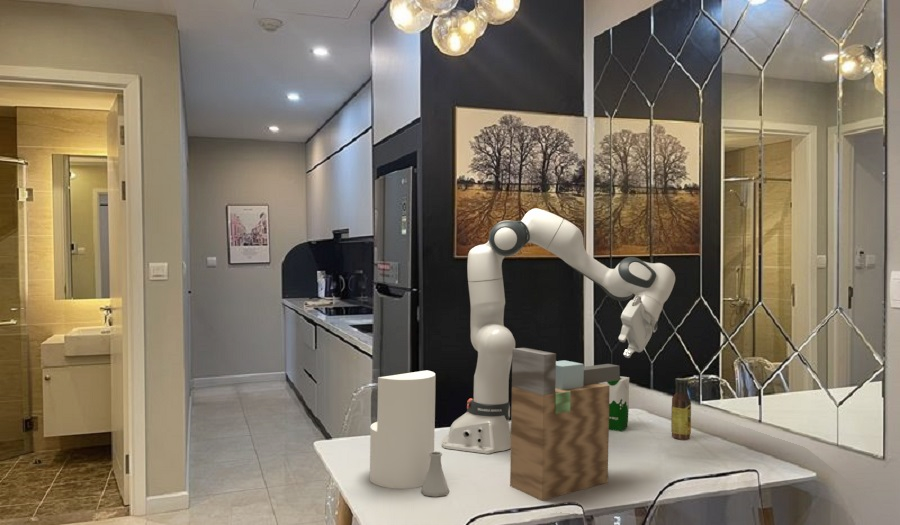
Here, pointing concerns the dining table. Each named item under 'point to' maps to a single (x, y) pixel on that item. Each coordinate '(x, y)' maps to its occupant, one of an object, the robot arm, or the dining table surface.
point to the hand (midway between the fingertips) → (623, 348)
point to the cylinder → (403, 430)
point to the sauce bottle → (681, 411)
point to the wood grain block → (555, 429)
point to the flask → (435, 477)
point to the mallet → (583, 374)
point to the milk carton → (618, 403)
